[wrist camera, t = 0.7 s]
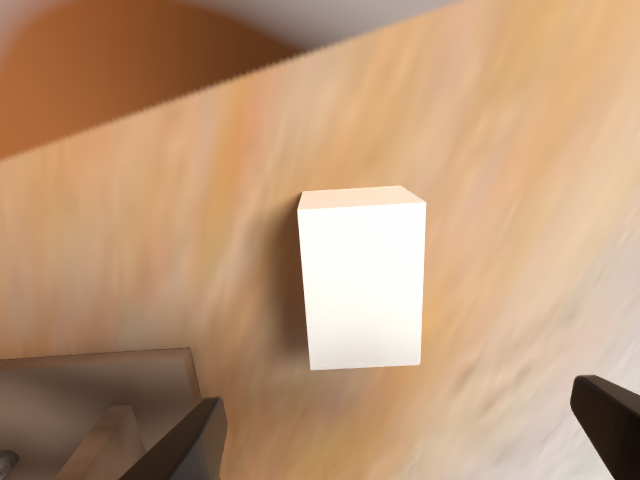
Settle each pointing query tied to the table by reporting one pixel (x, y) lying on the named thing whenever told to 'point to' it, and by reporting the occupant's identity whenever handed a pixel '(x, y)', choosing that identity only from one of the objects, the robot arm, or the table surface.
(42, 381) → the rack
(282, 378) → the table surface
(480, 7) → the table surface
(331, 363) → the white rectangular block
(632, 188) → the table surface
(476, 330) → the table surface
